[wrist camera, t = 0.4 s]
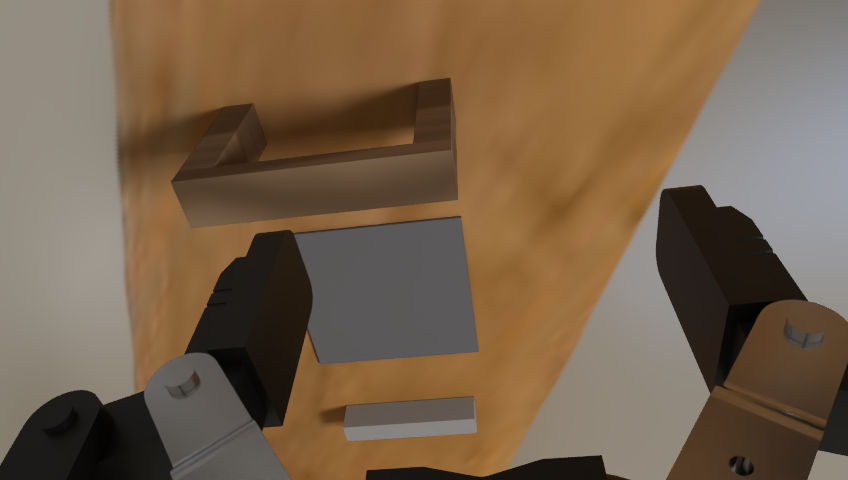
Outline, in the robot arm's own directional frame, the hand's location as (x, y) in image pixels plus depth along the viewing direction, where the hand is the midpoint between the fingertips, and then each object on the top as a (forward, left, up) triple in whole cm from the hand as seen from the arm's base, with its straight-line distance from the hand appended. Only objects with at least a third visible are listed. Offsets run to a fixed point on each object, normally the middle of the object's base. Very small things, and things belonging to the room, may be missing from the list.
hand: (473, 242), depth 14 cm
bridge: (+8, -9, -27) cm, 29 cm away
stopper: (+38, -9, -27) cm, 47 cm away
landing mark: (+24, -9, -27) cm, 37 cm away
